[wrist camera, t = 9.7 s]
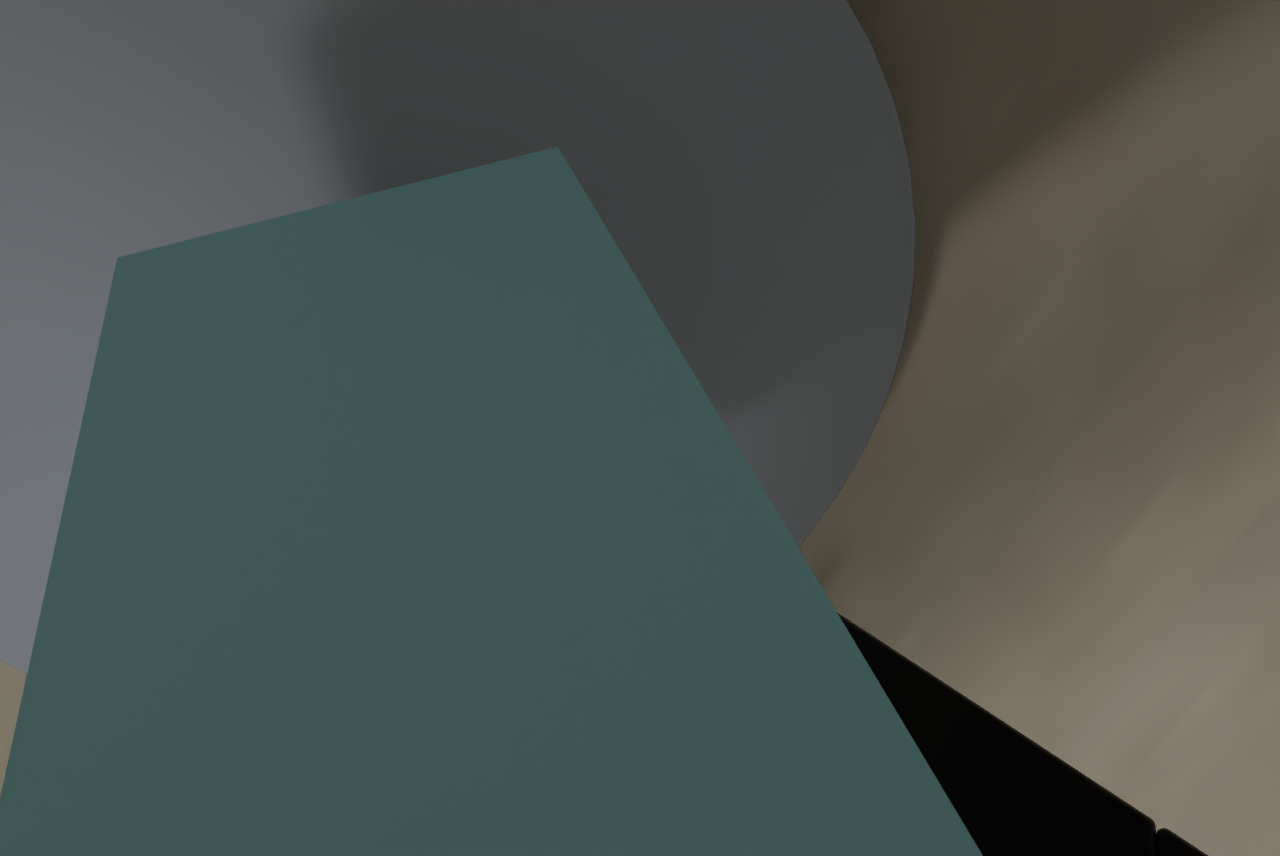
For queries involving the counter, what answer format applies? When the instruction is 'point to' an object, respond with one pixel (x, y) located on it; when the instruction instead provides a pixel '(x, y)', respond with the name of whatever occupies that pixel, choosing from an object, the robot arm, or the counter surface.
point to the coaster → (451, 142)
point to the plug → (434, 567)
